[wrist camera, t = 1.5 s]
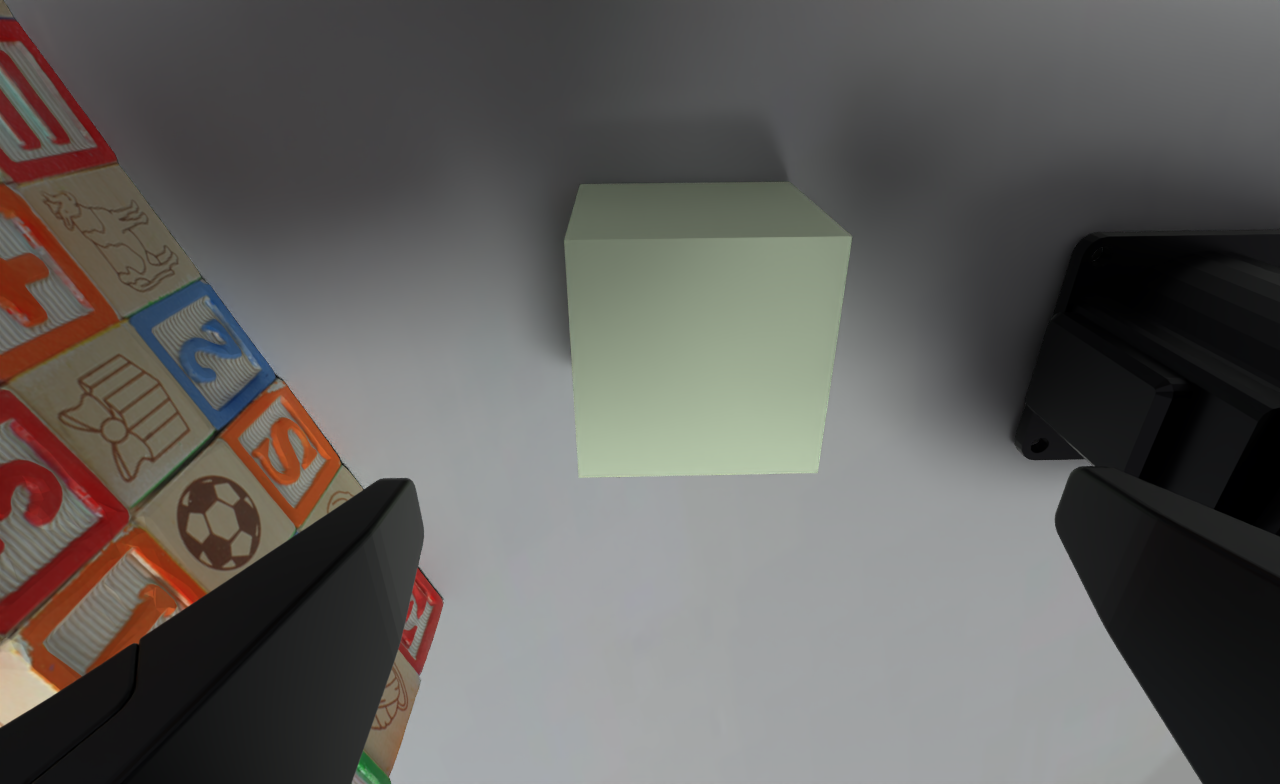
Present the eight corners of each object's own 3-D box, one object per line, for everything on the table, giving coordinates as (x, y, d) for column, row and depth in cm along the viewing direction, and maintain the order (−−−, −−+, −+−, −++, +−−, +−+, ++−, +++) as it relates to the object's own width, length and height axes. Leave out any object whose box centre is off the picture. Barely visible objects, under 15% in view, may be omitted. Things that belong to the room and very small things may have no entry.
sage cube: (788, 181, 16) (852, 236, 11) (770, 367, 18) (817, 473, 14) (580, 183, 16) (563, 239, 11) (589, 370, 18) (578, 477, 14)
